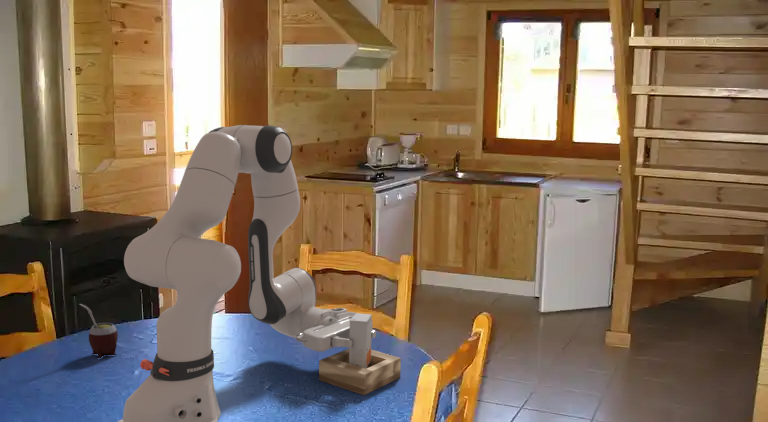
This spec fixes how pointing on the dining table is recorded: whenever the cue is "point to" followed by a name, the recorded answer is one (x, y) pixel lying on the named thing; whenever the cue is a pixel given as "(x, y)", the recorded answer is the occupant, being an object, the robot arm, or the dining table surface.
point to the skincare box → (360, 340)
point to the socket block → (359, 371)
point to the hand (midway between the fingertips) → (363, 339)
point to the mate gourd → (102, 337)
